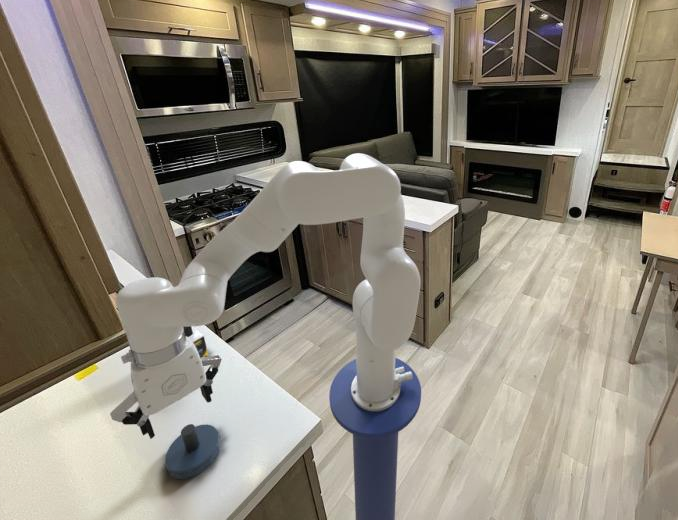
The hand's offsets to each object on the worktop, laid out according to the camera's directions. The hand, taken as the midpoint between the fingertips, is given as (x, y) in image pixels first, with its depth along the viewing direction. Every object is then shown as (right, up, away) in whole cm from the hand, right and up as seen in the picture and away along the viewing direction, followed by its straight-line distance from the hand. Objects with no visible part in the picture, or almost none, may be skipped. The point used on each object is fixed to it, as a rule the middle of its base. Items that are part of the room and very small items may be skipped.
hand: (180, 414), depth 62 cm
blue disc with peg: (0, -11, +4) cm, 12 cm away
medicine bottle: (-17, -1, +28) cm, 33 cm away
